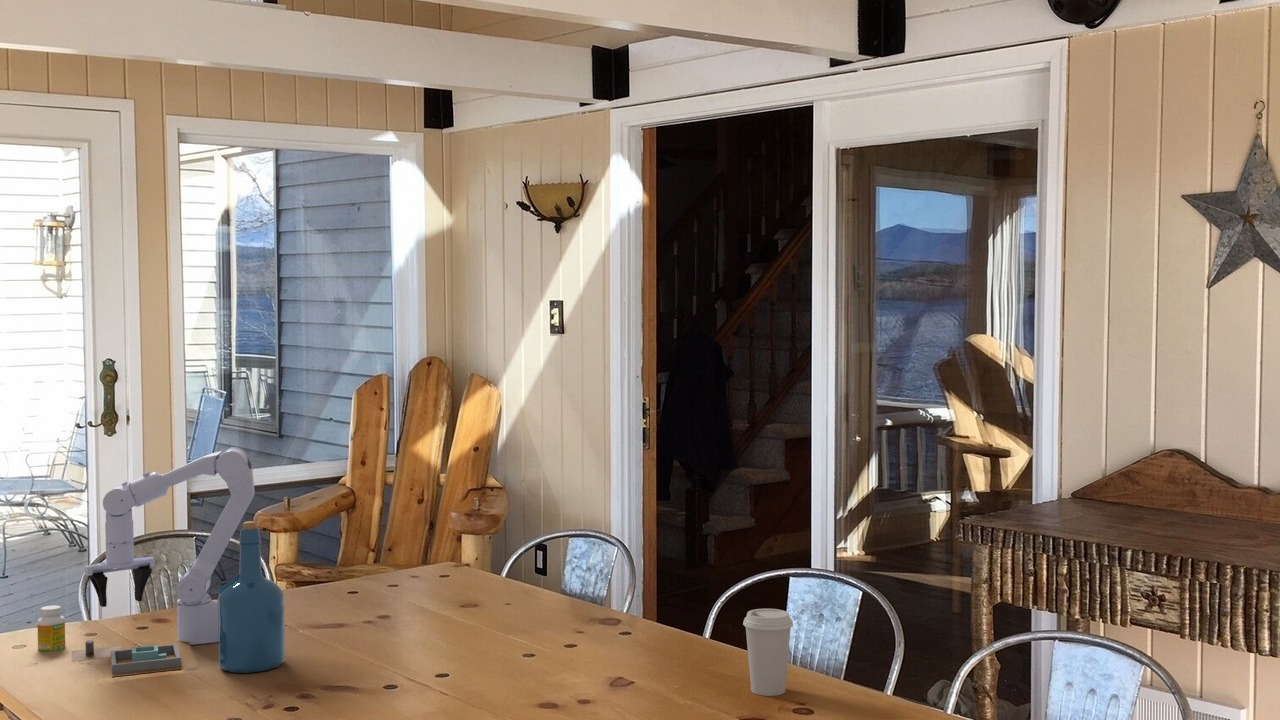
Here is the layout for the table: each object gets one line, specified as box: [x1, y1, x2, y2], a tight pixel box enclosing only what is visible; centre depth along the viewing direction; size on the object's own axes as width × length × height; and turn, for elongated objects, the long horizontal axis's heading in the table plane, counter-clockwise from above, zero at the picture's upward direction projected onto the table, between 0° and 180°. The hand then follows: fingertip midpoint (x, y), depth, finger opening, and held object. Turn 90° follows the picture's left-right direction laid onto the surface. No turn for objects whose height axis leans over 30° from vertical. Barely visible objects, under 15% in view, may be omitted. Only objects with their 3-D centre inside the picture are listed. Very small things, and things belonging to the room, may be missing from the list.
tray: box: [110, 643, 182, 678], centre depth 258 cm, size 13×12×2 cm
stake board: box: [71, 639, 124, 663], centre depth 265 cm, size 10×9×4 cm
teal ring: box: [131, 644, 167, 662], centre depth 258 cm, size 5×7×3 cm
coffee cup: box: [742, 608, 794, 697], centre depth 238 cm, size 10×10×15 cm
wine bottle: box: [217, 520, 286, 674], centre depth 257 cm, size 14×13×30 cm
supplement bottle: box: [36, 605, 66, 653], centre depth 269 cm, size 5×5×10 cm
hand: (120, 603), depth 274 cm, fingers open, 7 cm apart
